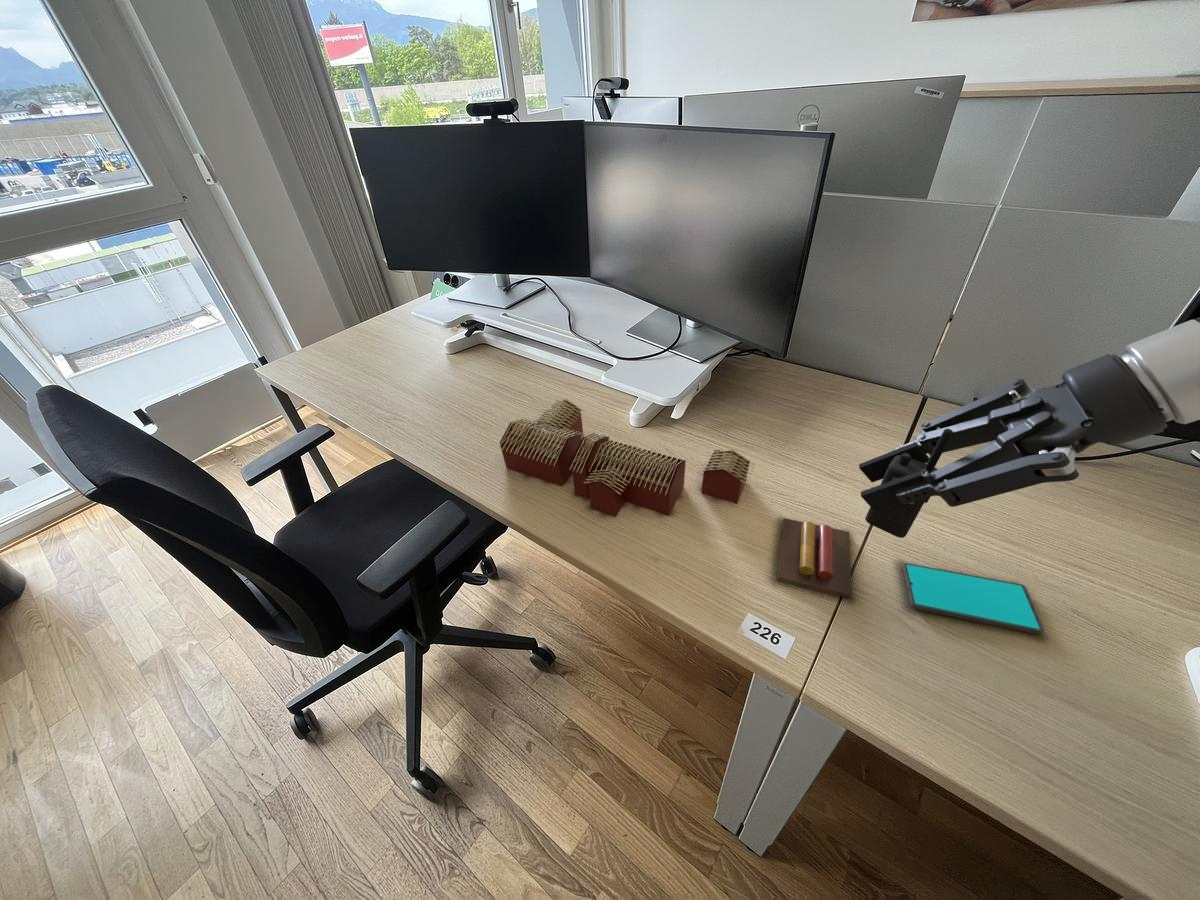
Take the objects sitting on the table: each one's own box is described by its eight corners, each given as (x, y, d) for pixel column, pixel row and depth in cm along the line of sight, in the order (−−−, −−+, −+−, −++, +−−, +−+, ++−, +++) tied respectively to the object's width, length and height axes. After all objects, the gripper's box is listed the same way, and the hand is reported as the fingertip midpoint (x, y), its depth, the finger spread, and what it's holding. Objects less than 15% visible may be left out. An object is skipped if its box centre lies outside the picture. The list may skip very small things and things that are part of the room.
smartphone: (1045, 632, 59) (913, 604, 63) (1041, 635, 60) (911, 608, 64) (1024, 584, 65) (903, 561, 69) (1021, 587, 65) (901, 565, 69)
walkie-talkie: (862, 521, 57) (906, 425, 48) (872, 506, 59) (916, 410, 49) (905, 541, 54) (960, 443, 45) (914, 524, 56) (969, 427, 47)
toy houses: (498, 477, 90) (486, 436, 84) (552, 419, 104) (546, 380, 97) (725, 554, 73) (733, 511, 66) (755, 472, 86) (764, 430, 80)
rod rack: (847, 535, 74) (852, 523, 72) (850, 598, 66) (856, 587, 64) (782, 521, 77) (785, 509, 75) (776, 580, 69) (780, 568, 67)
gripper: (1222, 486, 34) (890, 564, 49) (1119, 368, 46) (879, 461, 61) (1180, 416, 32) (849, 520, 48) (1084, 312, 44) (846, 423, 60)
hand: (866, 486), depth 55 cm, fingers closed on walkie-talkie, 4 cm apart
